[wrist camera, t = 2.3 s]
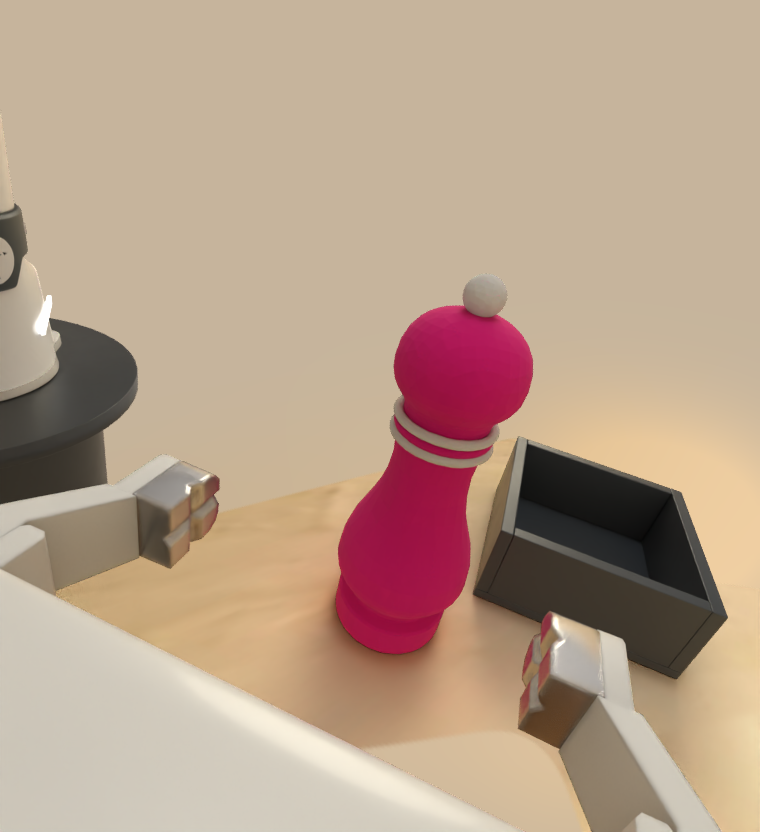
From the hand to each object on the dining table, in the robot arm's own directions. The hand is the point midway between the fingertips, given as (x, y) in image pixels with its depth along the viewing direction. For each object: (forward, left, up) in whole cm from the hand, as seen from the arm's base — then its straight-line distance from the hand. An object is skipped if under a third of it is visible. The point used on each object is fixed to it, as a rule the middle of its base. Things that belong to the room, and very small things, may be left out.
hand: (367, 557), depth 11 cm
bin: (+11, +22, -15) cm, 29 cm away
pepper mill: (0, +12, -16) cm, 20 cm away
